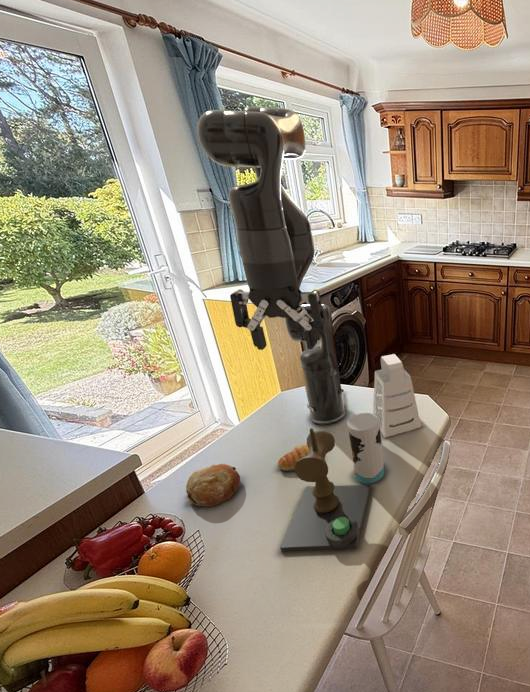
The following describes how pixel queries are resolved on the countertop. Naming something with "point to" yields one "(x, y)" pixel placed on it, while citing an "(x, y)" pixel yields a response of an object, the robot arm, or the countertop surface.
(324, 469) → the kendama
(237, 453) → the countertop surface
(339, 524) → the tare button
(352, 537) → the scale
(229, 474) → the bread roll
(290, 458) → the pastry
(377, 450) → the cup
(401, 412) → the grater
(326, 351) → the robot arm
